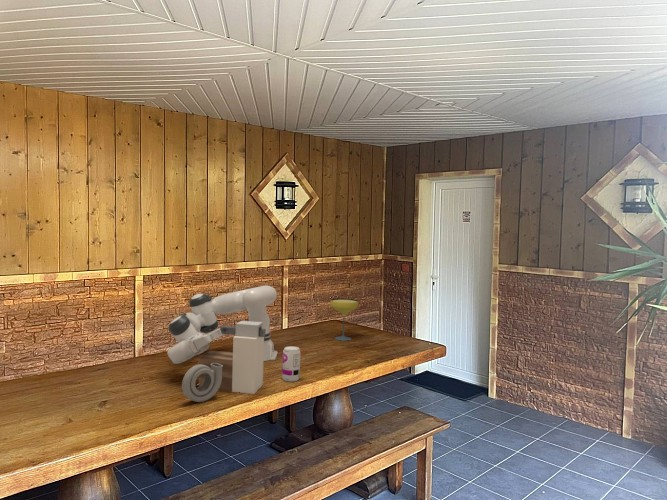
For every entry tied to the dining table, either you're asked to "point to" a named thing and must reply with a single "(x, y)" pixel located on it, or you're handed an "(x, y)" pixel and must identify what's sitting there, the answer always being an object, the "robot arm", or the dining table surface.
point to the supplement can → (291, 364)
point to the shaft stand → (247, 357)
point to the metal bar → (232, 330)
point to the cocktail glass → (344, 310)
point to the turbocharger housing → (209, 385)
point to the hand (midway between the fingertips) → (225, 329)
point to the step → (227, 368)
